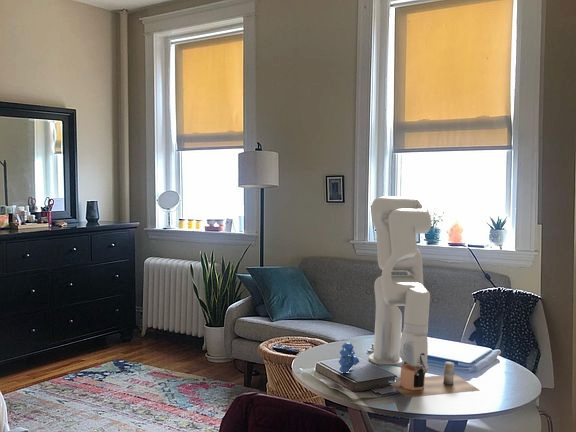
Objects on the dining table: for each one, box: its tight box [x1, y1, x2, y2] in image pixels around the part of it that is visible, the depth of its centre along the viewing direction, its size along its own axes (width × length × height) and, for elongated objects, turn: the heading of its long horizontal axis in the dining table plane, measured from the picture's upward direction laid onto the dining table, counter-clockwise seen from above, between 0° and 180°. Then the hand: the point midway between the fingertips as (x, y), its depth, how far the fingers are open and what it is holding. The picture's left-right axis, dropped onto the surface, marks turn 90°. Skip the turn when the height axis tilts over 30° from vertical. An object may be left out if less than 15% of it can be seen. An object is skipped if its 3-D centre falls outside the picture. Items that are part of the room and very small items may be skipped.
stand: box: [389, 361, 480, 398], centre depth 187 cm, size 14×26×8 cm, turn 107°
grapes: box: [338, 342, 360, 373], centre depth 196 cm, size 12×7×12 cm, turn 159°
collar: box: [399, 363, 426, 390], centre depth 186 cm, size 7×7×6 cm
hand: (412, 381), depth 186 cm, fingers closed on collar, 7 cm apart
